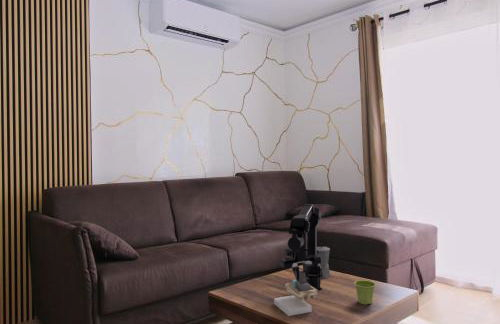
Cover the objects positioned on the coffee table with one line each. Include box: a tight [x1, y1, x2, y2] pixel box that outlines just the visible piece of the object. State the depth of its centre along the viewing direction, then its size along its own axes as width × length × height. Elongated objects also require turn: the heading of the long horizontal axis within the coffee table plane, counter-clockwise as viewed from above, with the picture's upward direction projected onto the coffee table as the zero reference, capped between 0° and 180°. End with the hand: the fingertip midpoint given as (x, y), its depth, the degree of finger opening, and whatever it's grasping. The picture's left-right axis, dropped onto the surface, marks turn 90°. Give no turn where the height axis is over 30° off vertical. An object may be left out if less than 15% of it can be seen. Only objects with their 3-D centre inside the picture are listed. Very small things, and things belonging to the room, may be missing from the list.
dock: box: [273, 294, 313, 317], centre depth 179 cm, size 11×15×2 cm
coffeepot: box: [317, 242, 331, 279], centre depth 224 cm, size 15×9×18 cm, turn 147°
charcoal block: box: [299, 283, 310, 292], centre depth 177 cm, size 4×3×3 cm
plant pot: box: [354, 279, 377, 305], centre depth 184 cm, size 9×9×9 cm
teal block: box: [291, 278, 296, 288], centre depth 183 cm, size 4×3×3 cm
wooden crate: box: [284, 270, 319, 301], centre depth 180 cm, size 9×13×10 cm
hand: (300, 280), depth 180 cm, fingers closed on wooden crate, 3 cm apart
